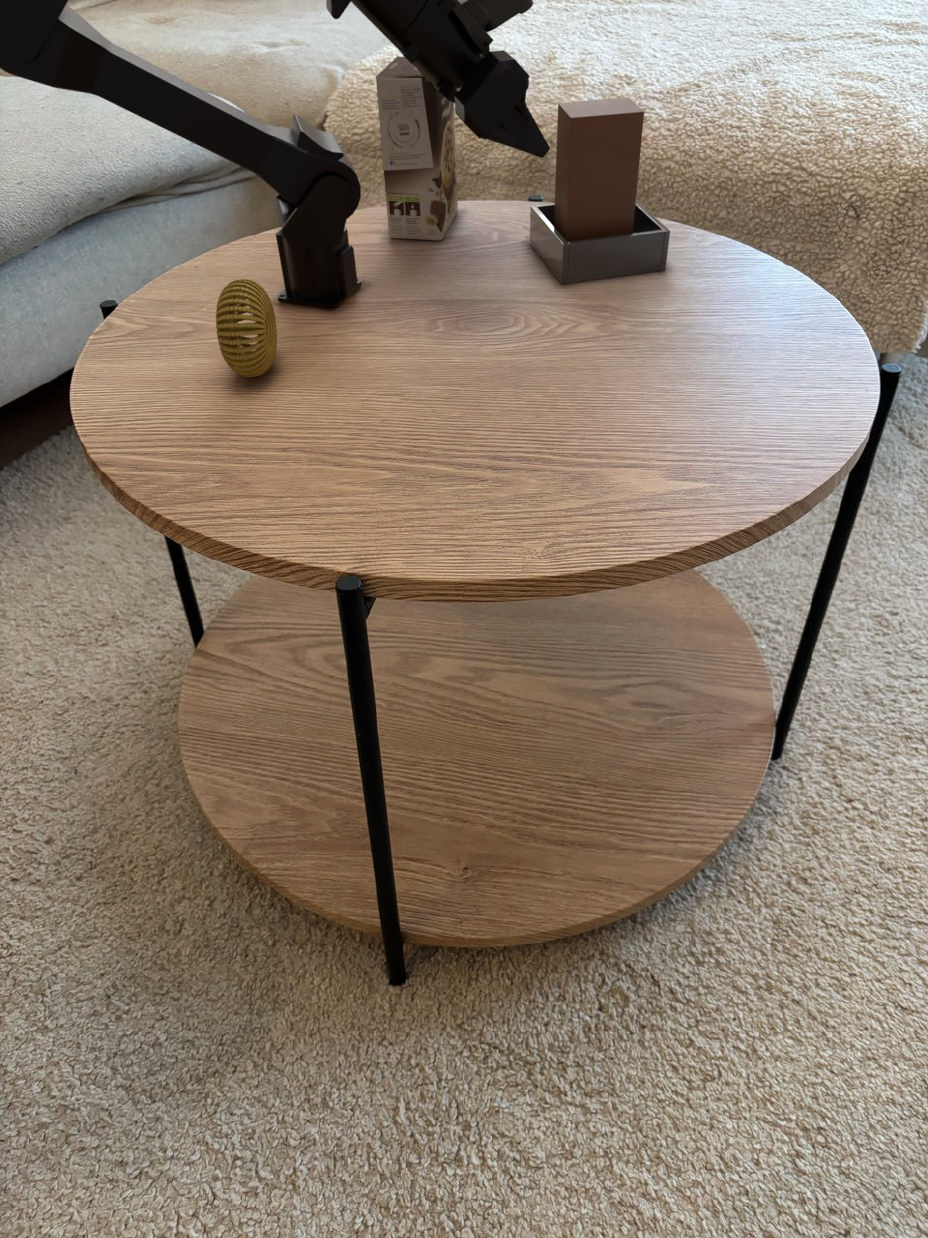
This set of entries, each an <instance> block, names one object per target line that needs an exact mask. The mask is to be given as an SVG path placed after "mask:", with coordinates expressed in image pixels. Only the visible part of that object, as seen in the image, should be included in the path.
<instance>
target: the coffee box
mask: <svg viewBox="0 0 928 1238" xmlns="http://www.w3.org/2000/svg"><path fill="white" fill-rule="evenodd" d="M375 80H376V81H375V82H376V94H377V107H378V108H377V110H378V120H379V121H378V122H379V132H380V145H381V156H382V168H383V177H384V190H385V191H384V193H385V203H386V214H387V215H386V216H387V228H388V237H389V238H391V239H407V240H409V239H410V240H422V241H423V240H424V241H438V242H439V241H441V240H443V238H444V236H445V235H446V233H447V231H448V230H449V228H450V226H451V224H452V223H453V221H454V219H455V218H456V216H457V214H458V212H459V205H458V204H459V201H458V198H459V197H458V174H457V173H458V171H457V151H456V148H457V147H456V146H457V145H456V128H455V127H456V123H455V122H456V121H455V103H453V102H451V101H449V100H447V99H446V98H445V97H444V96H443V95H442V94H440V93H439V92H438V91H437V90H436V89H435V88H434V87H433V86H432V85H431V84H430V83H429V82H428V81H427V80H426V79H425V78H424V76H423V75H422V74H421V72H420V71H419V70H418V69H417V68H416V67H415V66H414V65H413V64H411V63H410V62H409V61H408V60H407V59H406V58H405V57H404V56H396V57H395V58H394V59H393V60H392V61H391V62H390V63H389V64H387V66H385V67H384V68H383V69H382V70H381V71H380V72H379V73H378V74H377V75H376V76H375Z"/></svg>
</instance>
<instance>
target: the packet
mask: <svg viewBox="0 0 928 1238" xmlns="http://www.w3.org/2000/svg"><path fill="white" fill-rule="evenodd" d="M644 117H645V111H644V110H643V109H642V108H641V107H640V106H639V105H638V104H637V103H635V102H634V101H633V100H632V99H631V98H630V97H618V98H617V97H616V98H605V99H591V100H581V101H580V100H579V101H571V102H570V101H569V102H558V104H557V127H556V128H557V129H556V156H555V158H556V159H555V183H554V203H555V208H554V227H555V228H556V230H557V231H558V232H559V233H560V234H561V235H562V237H563V238H564V239H565V240H566V241H567V242H572V241H579V240H587V239H595V238H602V237H610V236H618V235H625V234H633V224H634V214H635V203H636V200H637V192H638V182H639V170H640V161H641V150H642V140H643V139H642V138H643V129H644Z"/></svg>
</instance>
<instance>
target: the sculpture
mask: <svg viewBox="0 0 928 1238" xmlns="http://www.w3.org/2000/svg"><path fill="white" fill-rule="evenodd" d="M273 305H274V304H273V303H272V300H271V298H270V296H269V294H268V292H267V291H266V290H265V288H264V287H262V285H260V284H259V283H257V282H256V281H253V280H252V279H247V278H241V279H235V280H233V281H231V282H229V283H228V284H226V285H225V286H224V288H223V289H222V290H221V292H220V293H219V295H218V299H217V303H216V308H215V324H216V325H215V329H216V335H217V337H216V338H217V342H218V346H219V350H220V353H221V355H222V357H223V359H224V361H225V363H226V364H227V366H228V367H229V368H230V369H231V370H232V371H234V373H236V374H238V375H240V376H242V377H245V378H247V377H248V378H255V377H259V376H261V375H264V374H265V373H266V372H268V371H269V370H270V368H271V367H272V365H273V363H274V361H275V358H276V355H277V347H278V329H277V328H278V327H277V320H276V314H275V310H274V306H273ZM243 321H251V322H243ZM250 336H253V337H250Z"/></svg>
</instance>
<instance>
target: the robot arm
mask: <svg viewBox="0 0 928 1238" xmlns="http://www.w3.org/2000/svg"><path fill="white" fill-rule="evenodd" d="M68 2H69V0H0V70H1V71H3V72H5V73H7V74H10V75H12V76H15V77H18V78H21V79H24V80H28V81H31V82H34V83H37V84H40V85H44V86H47V87H51V88H54V89H61V90H65V91H66V90H67V91H72V92H79V93H83V94H89V95H93V96H97V97H99V98H100V99H102V100H103V99H104V100H105V101H107V102H110V103H112V104H114V105H115V106H117V107H119V108H121V109H123V110H125V111H128V112H130V113H131V114H134V115H136V116H138V117H139V118H142V119H144V120H146V121H148V122H150V123H151V124H153V125H156V126H157V127H160V128H162V129H164V130H166V131H168V132H170V133H172V134H174V135H176V136H178V137H180V138H182V139H184V140H186V141H188V142H190V143H192V144H195V145H197V146H198V147H201V148H202V149H204V150H207V151H209V152H211V153H212V154H215V155H217V156H219V157H220V158H223V159H225V160H227V161H229V162H231V163H233V164H235V165H237V166H239V167H242V168H243V169H245V170H247V171H249V172H252V173H253V174H255V175H256V176H258V177H259V178H260V179H261V180H263V181H264V183H266V184H267V185H268V186H269V187H270V188H272V189H273V190H274V191H275V192H276V195H275V197H274V199H273V202H274V205H275V209H276V213H277V217H278V220H279V224H280V228H281V229H280V230H278V231H277V232H275V238H276V239H275V240H276V245H277V250H278V255H279V262H280V267H281V272H282V279H283V284H284V289H283V291H281V292H280V293H279V294H277V301H278V302H279V303H285V304H292V305H298V306H304V307H312V308H319V309H325V310H335V309H337V308H338V307H339V306H340V305H342V303H344V302H345V300H347V299H348V298H349V297H350V296H351V295H352V294H353V293H355V291H356V290H357V289H358V288H359V287H361V286H362V279H361V278H359V277H358V273H357V266H356V258H355V249H354V247H353V245H350V242H349V233H348V232H349V231H348V228H347V227H346V224H347V220H348V219H349V218H350V217H351V216H353V215H354V213H355V212H356V210H357V208H358V207H359V204H360V201H361V197H362V189H361V188H362V187H361V183H360V180H359V177H358V175H357V173H356V171H355V169H354V166H353V165H352V162H351V160H350V158H349V156H348V154H347V152H346V151H345V149H343V148H342V146H340V144H339V142H338V140H337V137H336V135H335V133H334V132H332V131H324V130H321V129H319V128H316V127H314V126H313V125H311V124H310V123H309V122H308V121H306V120H305V119H304V118H303V117H301V116H300V115H298V114H296V113H294V114H293V115H292V119H291V125H290V128H289V127H283V126H277V125H272V124H268V123H266V122H264V121H262V120H260V119H258V118H256V117H254V116H252V115H250V114H248V113H247V112H244V111H243V110H240V108H238V107H235V106H234V105H232V104H229V103H227V102H226V101H224V100H222V99H220V98H218V97H217V96H214V95H212V94H210V93H209V92H207V91H205V90H203V89H201V88H198V87H197V86H195V85H194V84H191V83H190V82H188V81H186V80H184V79H182V78H180V77H178V76H176V75H174V74H172V73H170V72H168V71H167V70H164V69H163V68H160V66H157V65H155V64H154V63H151V62H149V61H148V60H146V59H144V58H141V57H140V56H138V55H136V54H134V53H132V52H131V51H128V50H126V49H125V48H123V47H121V46H119V45H117V44H115V43H113V42H112V41H111V40H109V39H107V37H105V36H104V35H103V34H102V33H101V32H100V31H98V30H97V29H96V28H95V27H93V25H92V24H90V23H89V22H88V21H87V20H86V19H85V18H84V17H82V15H80V14H79V13H78V12H77V11H75V10H74V9H73V8H71V7H70V6H69V5H67V4H68ZM350 4H353V6H355V8H357V10H358V11H360V13H362V15H363V16H364V17H365V18H366V19H367V20H369V22H370V23H371V24H372V25H373V26H374V27H375V28H376V29H377V30H378V31H379V32H380V33H381V34H382V35H383V36H384V37H385V38H386V39H387V40H388V41H389V42H390V43H391V44H392V45H393V46H394V47H395V48H396V49H397V50H398V52H400V54H401V55H402V57H405V58H406V59H407V60H408V61H409V62H410V63H411V64H413V65H414V66H415V67H416V68H417V69H418V70H419V71H420V72H421V74H422V75H423V76H424V78H425V79H426V80H427V81H428V82H429V83H430V84H431V85H432V86H433V87H434V88H435V89H436V90H437V91H438V92H439V93H440V94H442V95H443V96H444V97H445V98H446V99H447V100H449V101H451V102H453V103H454V114H455V115H456V116H457V117H458V118H459V119H460V120H461V122H462V123H463V124H464V125H465V126H466V127H467V128H469V130H470V131H471V132H472V133H473V134H474V135H475V136H476V137H477V138H478V139H479V140H480V139H482V140H484V141H485V140H487V141H491V142H494V143H498V144H501V145H504V146H506V147H509V148H513V149H515V150H517V151H520V152H523V153H527V154H530V155H532V156H535V157H537V158H541V159H543V158H544V157H545V156H546V155H548V153H549V151H550V149H551V148H550V145H549V143H548V141H547V140H546V138H545V136H544V134H543V133H542V131H541V129H540V128H539V125H538V124H537V122H536V120H535V118H534V117H533V114H532V113H531V110H530V109H529V108H528V105H527V103H526V102H527V101H526V99H527V90H529V87H530V77H531V75H530V74H528V72H527V71H526V70H525V69H524V68H523V67H522V65H521V64H520V63H519V62H518V60H516V59H515V58H514V57H513V56H511V54H509V53H508V52H507V51H505V50H503V49H502V50H493V51H491V50H490V45H491V44H492V43H493V41H494V39H493V38H492V36H491V35H490V34H489V33H490V32H492V31H494V30H496V29H498V28H499V27H500V26H502V25H504V24H505V23H506V22H508V21H509V20H511V19H513V18H514V17H516V16H517V15H519V14H520V15H523V14H525V13H527V12H528V11H529V10H530V9H531V8H532V7H533V6H534V1H533V0H325V6H326V10H327V11H328V13H329V14H330V16H331V17H332V18H333V19H334V20H339V19H340V18H341V17H342V15H344V13H345V11H346V10H347V8H348V6H349V5H350Z"/></svg>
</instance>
